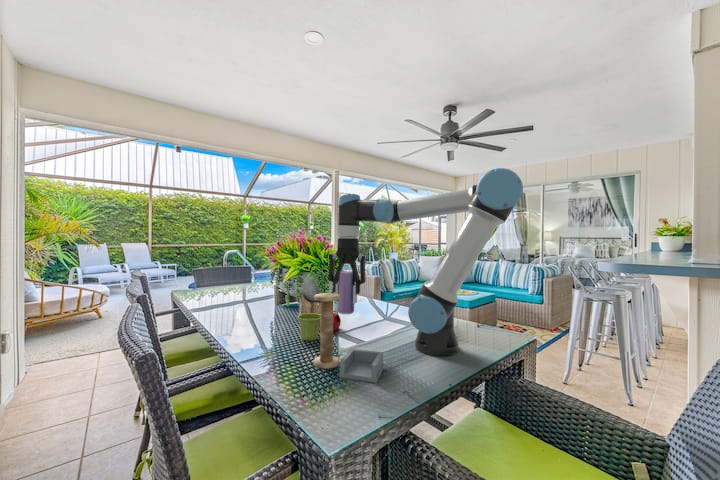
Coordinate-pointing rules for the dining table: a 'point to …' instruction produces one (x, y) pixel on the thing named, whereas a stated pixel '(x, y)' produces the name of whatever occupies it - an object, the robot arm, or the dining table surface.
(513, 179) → the robot arm
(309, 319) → the plant pot
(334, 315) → the pomegranate
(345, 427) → the dining table surface
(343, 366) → the gray open box
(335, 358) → the spool
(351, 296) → the beverage can
